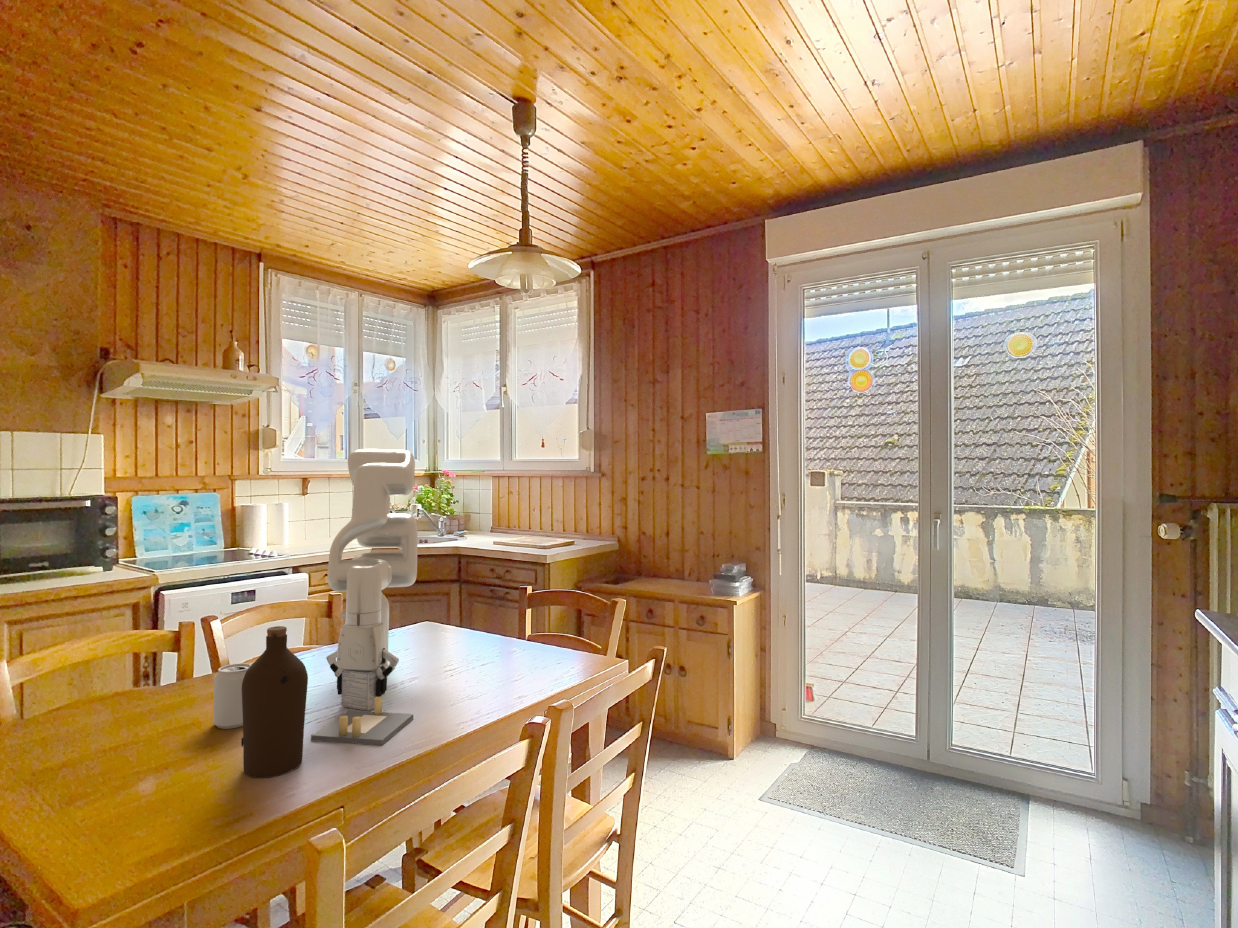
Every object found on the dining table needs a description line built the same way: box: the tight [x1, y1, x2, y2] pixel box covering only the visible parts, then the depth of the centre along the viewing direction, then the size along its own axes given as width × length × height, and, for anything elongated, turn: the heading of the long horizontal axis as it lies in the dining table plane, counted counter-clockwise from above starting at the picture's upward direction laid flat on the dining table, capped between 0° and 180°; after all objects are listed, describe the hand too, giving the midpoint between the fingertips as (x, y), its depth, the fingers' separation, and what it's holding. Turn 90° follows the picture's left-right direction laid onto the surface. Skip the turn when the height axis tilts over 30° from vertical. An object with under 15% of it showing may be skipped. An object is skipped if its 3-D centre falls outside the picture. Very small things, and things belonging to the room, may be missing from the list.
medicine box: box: [340, 668, 382, 711], centre depth 147 cm, size 8×4×9 cm, turn 69°
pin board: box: [310, 696, 414, 746], centre depth 134 cm, size 15×14×4 cm
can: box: [212, 662, 252, 730], centre depth 136 cm, size 8×8×12 cm
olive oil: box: [240, 625, 309, 779], centre depth 117 cm, size 11×11×25 cm
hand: (361, 693), depth 147 cm, fingers closed on medicine box, 8 cm apart
